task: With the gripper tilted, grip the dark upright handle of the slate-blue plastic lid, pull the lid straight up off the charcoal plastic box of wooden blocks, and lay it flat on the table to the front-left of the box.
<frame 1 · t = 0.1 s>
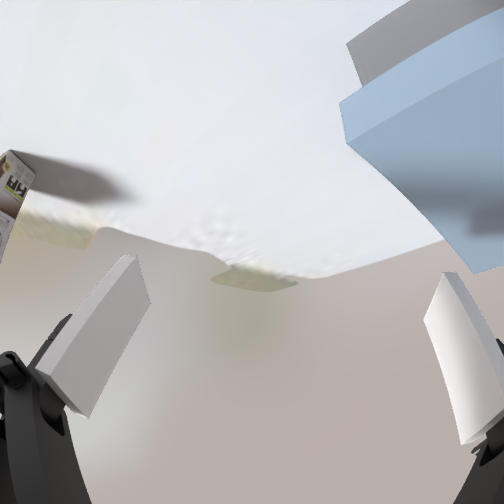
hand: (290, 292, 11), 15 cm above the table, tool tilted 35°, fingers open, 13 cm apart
coffee box: (10, 167, 28), on the table
storage box: (484, 94, 14), on the table
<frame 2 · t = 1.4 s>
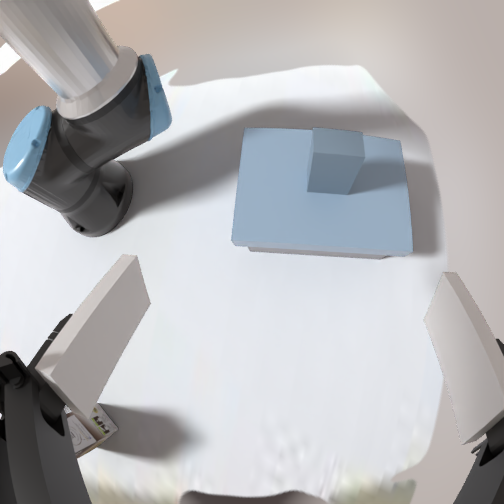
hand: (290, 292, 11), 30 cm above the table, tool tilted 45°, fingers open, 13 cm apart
coffee box: (96, 425, 39), on the table
lid: (324, 191, 36), point 7 cm above the table, touching storage box
storage box: (318, 211, 43), on the table
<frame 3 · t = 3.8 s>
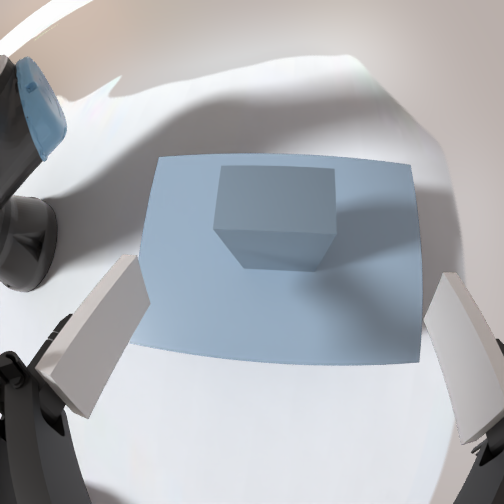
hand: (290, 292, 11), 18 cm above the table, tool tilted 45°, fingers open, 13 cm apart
lid: (280, 258, 23), point 7 cm above the table, touching storage box
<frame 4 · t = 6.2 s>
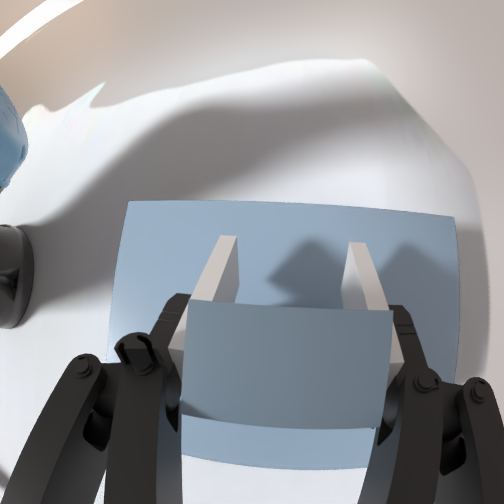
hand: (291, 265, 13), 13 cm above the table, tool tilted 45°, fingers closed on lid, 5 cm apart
lid: (285, 339, 18), point 7 cm above the table, touching gripper, storage box
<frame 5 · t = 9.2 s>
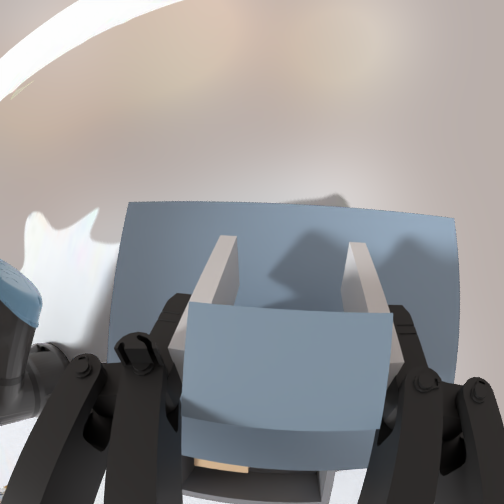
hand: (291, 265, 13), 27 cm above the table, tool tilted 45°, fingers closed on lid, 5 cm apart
beverage bottle: (25, 493, 34), on the table
lid: (285, 340, 18), point 21 cm above the table, touching gripper
storage box: (258, 437, 35), on the table
when the fingers open (7 cm above the table, at t = 12.7 s): lid drops 1 cm, on the table.
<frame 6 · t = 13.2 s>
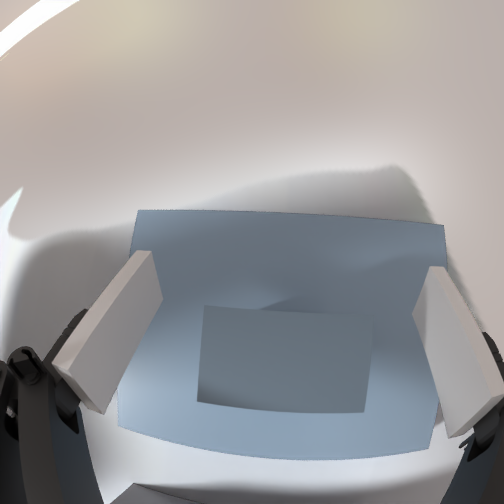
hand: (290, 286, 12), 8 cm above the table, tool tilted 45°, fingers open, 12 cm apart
lid: (285, 338, 19), on the table
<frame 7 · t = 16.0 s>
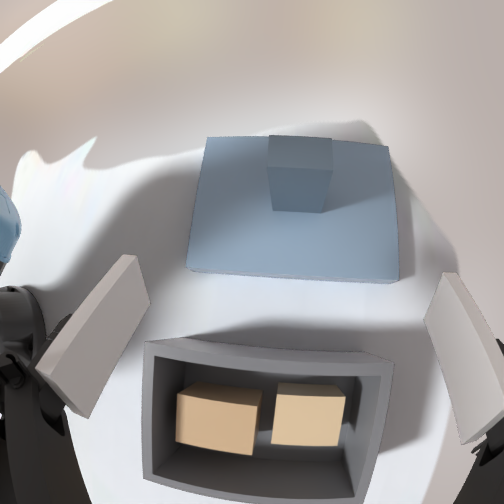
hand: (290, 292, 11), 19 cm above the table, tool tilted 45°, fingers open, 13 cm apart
lid: (296, 208, 32), on the table
storage box: (266, 409, 27), on the table
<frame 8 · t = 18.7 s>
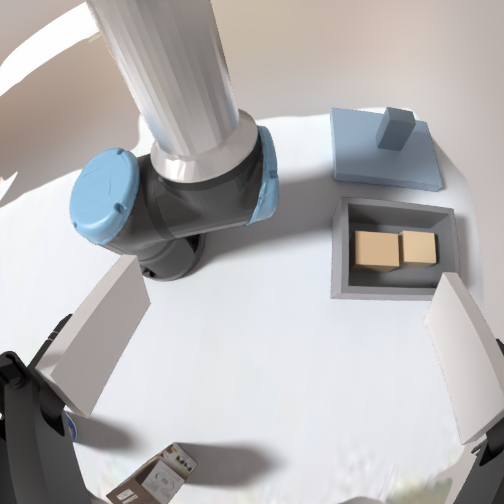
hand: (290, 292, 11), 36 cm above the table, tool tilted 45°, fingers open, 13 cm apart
coffee box: (171, 462, 41), on the table
lid: (384, 151, 51), on the table
storage box: (386, 259, 46), on the table
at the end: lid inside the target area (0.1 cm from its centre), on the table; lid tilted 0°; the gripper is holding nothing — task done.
